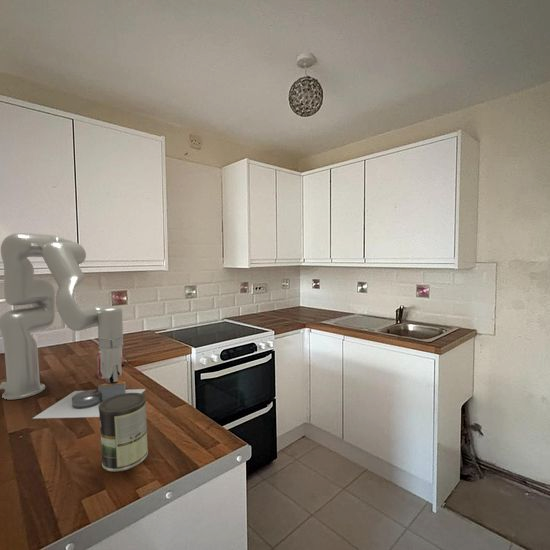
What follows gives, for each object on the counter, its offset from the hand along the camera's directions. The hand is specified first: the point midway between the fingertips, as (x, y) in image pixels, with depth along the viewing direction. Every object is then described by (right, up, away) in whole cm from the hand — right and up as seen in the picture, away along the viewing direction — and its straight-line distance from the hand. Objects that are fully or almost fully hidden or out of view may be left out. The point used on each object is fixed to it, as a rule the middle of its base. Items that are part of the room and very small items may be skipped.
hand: (112, 394), depth 110 cm
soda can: (-12, -2, +20) cm, 23 cm away
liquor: (-17, -1, +36) cm, 40 cm away
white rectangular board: (-3, -2, -5) cm, 6 cm away
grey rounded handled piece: (-2, 0, -4) cm, 5 cm away
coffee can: (+20, -3, -33) cm, 39 cm away
